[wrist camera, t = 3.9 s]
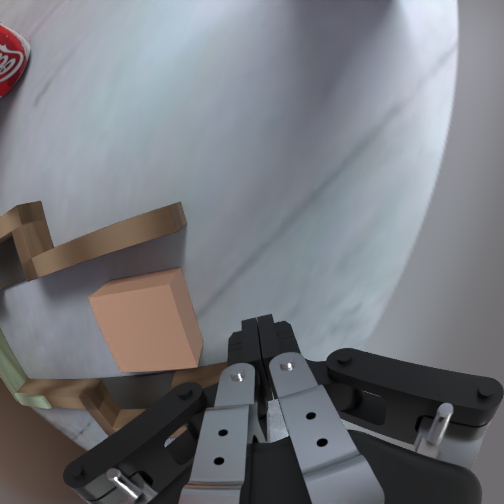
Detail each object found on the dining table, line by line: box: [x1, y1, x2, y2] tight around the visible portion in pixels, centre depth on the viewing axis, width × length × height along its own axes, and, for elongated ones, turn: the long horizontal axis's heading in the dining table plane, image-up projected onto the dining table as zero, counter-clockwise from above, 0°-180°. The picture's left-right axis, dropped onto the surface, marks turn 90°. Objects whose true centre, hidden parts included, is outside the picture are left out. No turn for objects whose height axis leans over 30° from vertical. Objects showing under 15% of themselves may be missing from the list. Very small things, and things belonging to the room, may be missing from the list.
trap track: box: [0, 201, 227, 438], centre depth 18 cm, size 28×22×3 cm
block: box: [88, 267, 203, 372], centre depth 18 cm, size 6×6×4 cm
